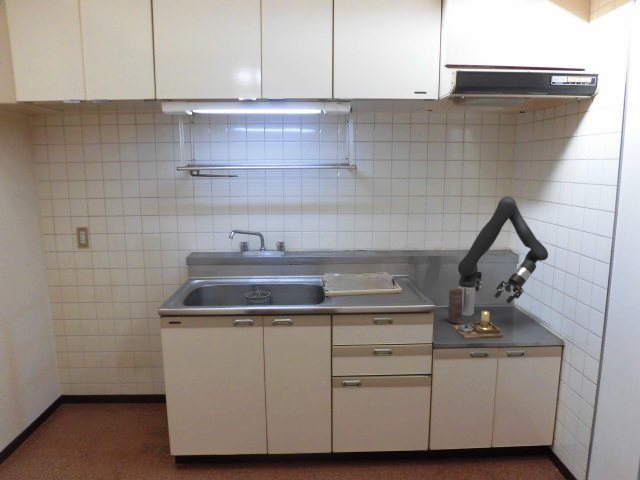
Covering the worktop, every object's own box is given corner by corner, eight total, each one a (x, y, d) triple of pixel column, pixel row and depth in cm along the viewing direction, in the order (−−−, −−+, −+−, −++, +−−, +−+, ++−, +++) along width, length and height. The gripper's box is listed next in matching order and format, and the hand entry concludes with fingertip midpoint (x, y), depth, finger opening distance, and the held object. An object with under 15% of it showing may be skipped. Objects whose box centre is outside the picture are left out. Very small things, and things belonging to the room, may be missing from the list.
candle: (452, 325, 229) (454, 291, 226) (445, 320, 236) (446, 287, 233) (464, 323, 231) (466, 289, 228) (456, 319, 238) (458, 286, 235)
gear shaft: (473, 327, 223) (474, 309, 222) (488, 326, 224) (489, 308, 222) (480, 333, 215) (481, 315, 214) (495, 332, 216) (496, 314, 214)
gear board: (452, 327, 227) (453, 319, 226) (487, 325, 228) (488, 317, 227) (465, 339, 211) (465, 330, 210) (502, 337, 212) (503, 328, 212)
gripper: (506, 269, 227) (488, 291, 225) (526, 276, 214) (507, 299, 212) (513, 277, 230) (495, 299, 228) (533, 284, 217) (515, 308, 215)
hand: (501, 299), depth 220 cm, fingers open, 8 cm apart
